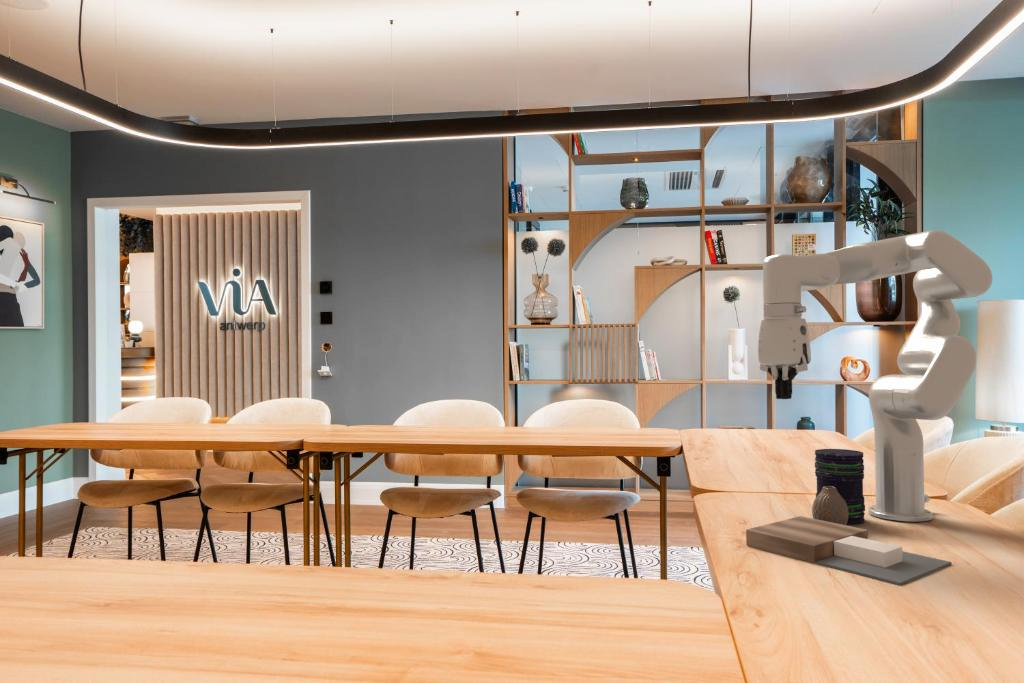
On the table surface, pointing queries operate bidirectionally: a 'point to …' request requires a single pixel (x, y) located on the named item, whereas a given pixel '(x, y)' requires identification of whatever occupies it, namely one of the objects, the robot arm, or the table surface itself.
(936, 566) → the charcoal mat
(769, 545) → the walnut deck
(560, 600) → the table surface
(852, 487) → the storage jar
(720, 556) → the table surface
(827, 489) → the vase
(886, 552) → the ivory tile
